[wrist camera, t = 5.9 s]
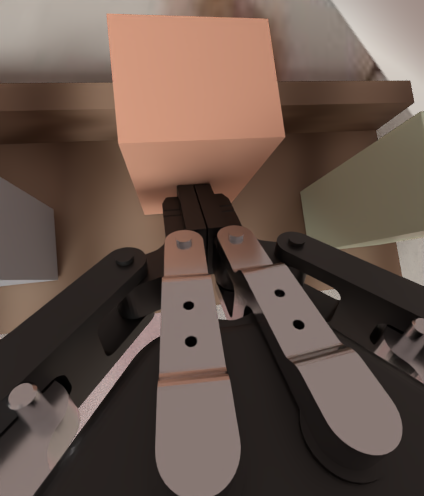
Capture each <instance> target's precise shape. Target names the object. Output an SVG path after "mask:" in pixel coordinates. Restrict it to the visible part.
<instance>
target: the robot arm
mask: <svg viewBox="0 0 424 496" xmlns="http://www.w3.org/2000/svg"><path fill="white" fill-rule="evenodd" d="M162 208H163V218H164V228H165V238H166V239H165V243H164V244H163V245H162V246H161V247H160V248H159V249H157V250H155V251H153V252H150V253H147V254H145V253H144V252H143V251H142V250H140V249H138V248H134V247H124V248H119V249H116V250H114V251H112V252H111V253H109V254H108V255H107V256H105V257H104V258H103V259H102V260H100V261H99V262H98V263H97V264H95V265H94V266H93V267H92V268H90V269H89V270H88V271H87V272H85V273H84V274H83V275H81V276H80V277H79V278H78V279H76V280H75V281H74V282H73V283H71V284H70V285H69V286H68V287H66V288H65V289H64V290H63V291H61V292H60V293H59V294H58V295H56V296H55V297H54V298H53V299H51V300H50V301H49V302H48V303H46V304H45V305H44V306H43V307H41V308H40V309H39V310H38V311H36V312H35V313H34V314H33V315H31V316H30V317H29V318H28V319H26V320H25V321H24V322H22V323H21V324H20V325H19V326H17V327H16V328H15V329H14V330H12V331H11V332H10V333H9V334H7V335H6V336H5V337H4V338H2V339H1V340H0V496H424V286H422V285H419V284H417V283H415V282H413V281H410V280H408V279H406V278H403V277H401V276H399V275H397V274H394V273H392V272H390V271H387V270H385V269H383V268H381V267H378V266H376V265H374V264H371V263H369V262H367V261H365V260H362V259H360V258H358V257H355V256H353V255H351V254H348V253H346V252H344V251H342V250H339V249H337V248H335V247H332V246H330V245H328V244H326V243H323V242H321V241H319V240H316V239H314V238H312V237H310V236H307V235H305V234H302V233H299V232H284V233H282V234H280V235H279V236H278V238H277V241H276V242H273V241H264V240H259V239H257V238H256V237H255V235H254V234H253V232H252V231H251V230H249V229H248V228H245V227H242V225H241V222H240V220H239V218H238V216H237V214H236V212H235V211H234V208H233V206H232V204H231V202H230V200H229V198H228V197H226V196H225V195H223V194H222V193H219V194H214V192H213V190H212V187H211V185H210V183H209V184H194V186H193V185H179V186H177V197H166V198H165V200H164V201H163V203H162ZM211 274H214V275H215V289H216V292H217V295H218V298H219V300H220V303H221V305H222V308H223V311H224V313H225V316H226V319H227V320H221V319H218V315H217V309H216V303H215V297H214V291H213V285H212V278H211ZM307 275H309V276H311V277H313V278H315V279H317V280H319V281H321V282H323V283H325V284H327V285H329V286H331V287H332V288H334V289H336V290H337V291H338V292H339V294H340V296H341V300H336V299H334V298H332V297H330V296H328V295H326V294H324V293H322V292H320V291H319V290H317V289H315V288H313V287H311V286H309V285H307V284H305V283H304V282H305V279H306V276H307ZM160 309H161V329H160V337H158V338H156V339H155V340H153V341H152V342H150V343H149V344H148V345H146V346H145V347H144V348H143V349H142V350H141V351H140V352H139V353H138V354H137V355H136V356H135V357H134V359H133V360H132V361H131V363H130V364H129V365H128V367H127V368H126V370H125V371H124V372H123V374H122V375H121V376H120V378H119V379H118V380H117V382H116V383H115V385H114V386H113V387H112V389H111V390H110V391H109V393H108V394H107V395H106V397H105V398H104V400H103V401H102V402H101V404H100V405H99V406H98V408H97V409H96V410H95V412H94V413H93V414H92V416H91V417H90V419H89V420H88V421H87V423H86V424H85V425H84V427H83V428H82V429H81V431H80V432H79V434H78V435H77V436H76V438H75V439H74V440H73V438H74V437H75V435H76V433H77V431H78V428H79V424H80V413H79V410H78V408H79V407H80V406H81V404H82V403H83V402H84V401H85V400H86V398H87V397H88V396H89V395H90V393H91V392H92V391H93V390H94V389H95V387H96V386H97V385H98V384H99V383H100V381H101V380H102V379H103V378H104V377H105V375H106V374H107V373H108V372H109V371H110V369H111V368H112V367H113V366H114V365H115V363H116V362H117V361H118V360H119V359H120V357H121V356H122V355H123V354H124V352H125V351H126V350H127V349H128V348H129V346H130V345H131V344H132V343H133V342H134V340H135V339H136V338H137V337H138V336H139V334H140V333H141V332H142V331H143V330H144V328H145V327H146V326H147V325H148V324H149V322H150V321H151V320H152V318H153V317H154V314H155V312H156V311H158V310H160ZM72 440H73V442H72ZM71 442H72V443H71ZM70 443H71V444H70ZM69 445H70V446H69ZM68 446H69V447H68Z"/></svg>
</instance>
